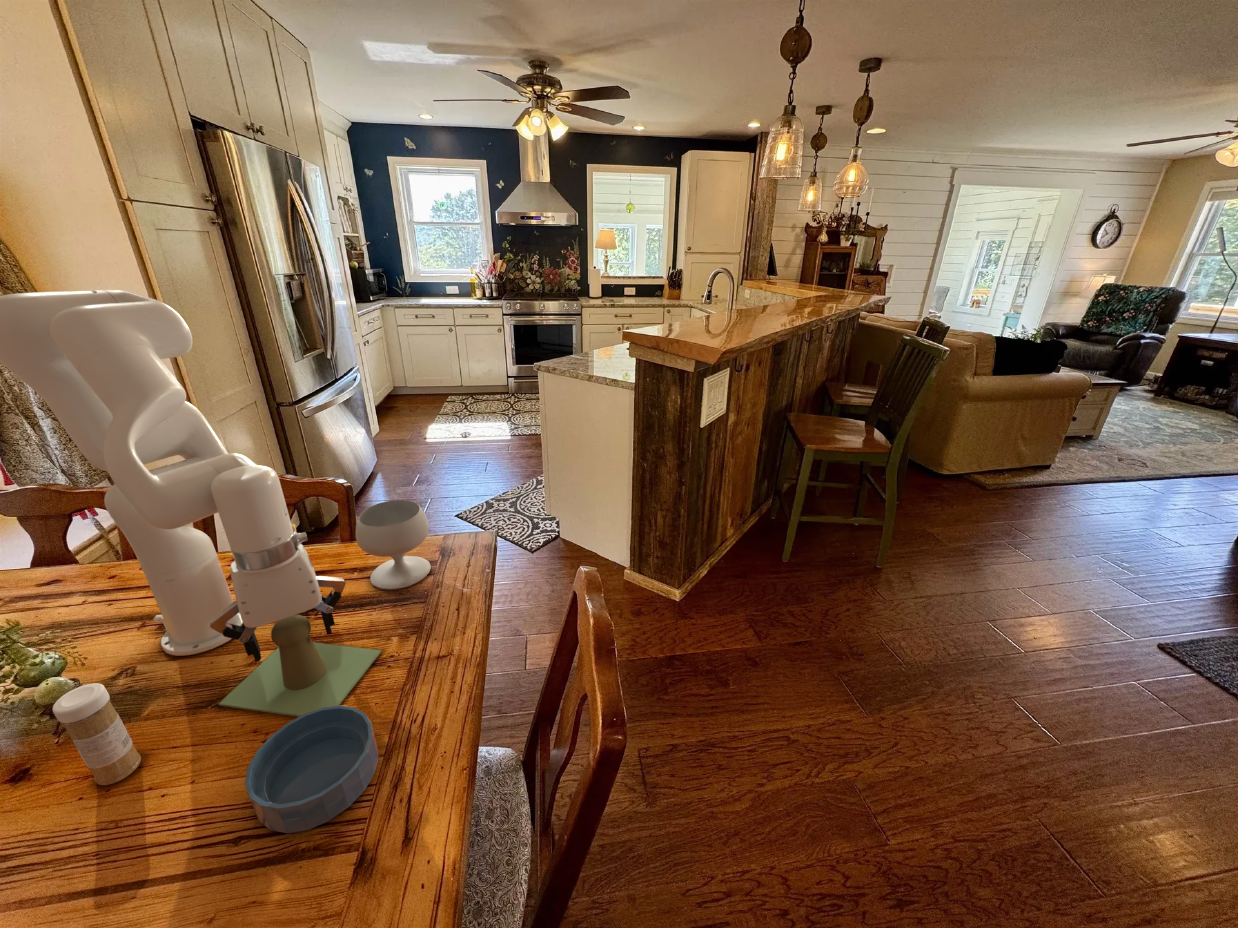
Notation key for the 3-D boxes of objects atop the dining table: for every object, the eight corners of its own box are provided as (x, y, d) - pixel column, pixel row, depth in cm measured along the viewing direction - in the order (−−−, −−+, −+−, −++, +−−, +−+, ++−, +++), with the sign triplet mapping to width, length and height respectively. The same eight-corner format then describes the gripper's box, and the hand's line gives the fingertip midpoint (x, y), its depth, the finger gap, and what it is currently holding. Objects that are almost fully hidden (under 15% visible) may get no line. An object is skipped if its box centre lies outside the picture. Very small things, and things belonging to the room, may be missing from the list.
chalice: (373, 559, 112) (360, 500, 106) (438, 552, 115) (429, 494, 109) (358, 597, 99) (343, 533, 93) (431, 588, 102) (421, 525, 96)
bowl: (227, 825, 60) (215, 797, 58) (309, 724, 72) (301, 699, 70) (334, 843, 58) (324, 816, 56) (398, 737, 71) (393, 712, 69)
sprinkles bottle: (110, 758, 67) (69, 685, 62) (150, 751, 68) (112, 678, 63) (86, 791, 63) (40, 715, 58) (129, 782, 64) (87, 707, 59)
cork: (306, 693, 77) (289, 638, 73) (273, 686, 78) (255, 632, 74) (334, 664, 82) (320, 611, 78) (303, 658, 84) (287, 606, 79)
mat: (218, 705, 75) (218, 703, 75) (287, 640, 88) (287, 638, 88) (326, 720, 73) (326, 718, 73) (381, 651, 86) (381, 650, 86)
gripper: (329, 522, 79) (350, 608, 85) (189, 557, 69) (225, 651, 76) (337, 542, 73) (359, 633, 80) (188, 584, 63) (226, 683, 70)
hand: (294, 642), depth 78 cm, fingers open, 9 cm apart
